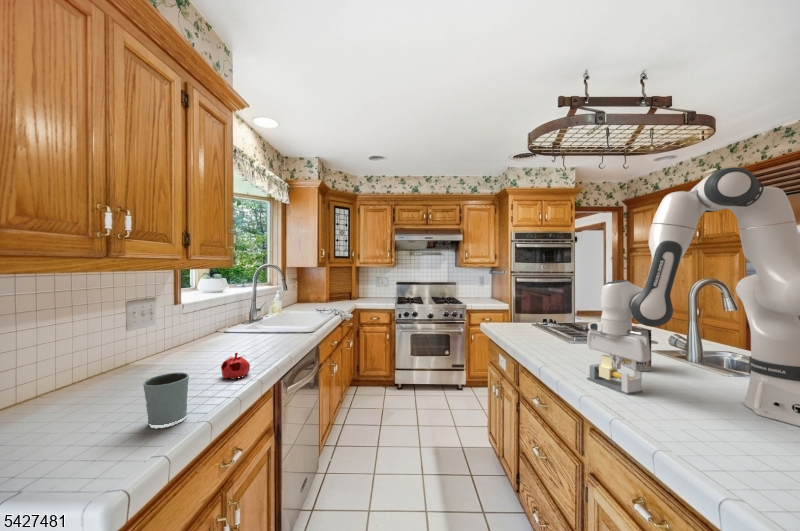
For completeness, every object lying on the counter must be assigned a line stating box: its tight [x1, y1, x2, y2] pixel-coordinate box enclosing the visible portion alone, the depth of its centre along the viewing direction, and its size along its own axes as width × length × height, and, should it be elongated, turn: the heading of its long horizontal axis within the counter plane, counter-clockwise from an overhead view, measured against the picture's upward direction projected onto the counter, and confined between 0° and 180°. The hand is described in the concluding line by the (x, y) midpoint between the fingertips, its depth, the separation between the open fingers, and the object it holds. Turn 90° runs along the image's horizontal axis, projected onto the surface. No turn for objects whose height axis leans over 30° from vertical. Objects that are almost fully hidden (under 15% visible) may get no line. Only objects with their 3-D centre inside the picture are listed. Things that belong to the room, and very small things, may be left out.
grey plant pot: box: [142, 372, 190, 425], centre depth 90 cm, size 10×10×12 cm
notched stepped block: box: [599, 354, 619, 380], centre depth 116 cm, size 4×4×7 cm
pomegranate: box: [220, 352, 251, 379], centre depth 126 cm, size 10×10×9 cm
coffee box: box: [621, 325, 652, 372], centre depth 132 cm, size 9×6×16 cm
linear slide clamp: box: [586, 363, 643, 396], centre depth 114 cm, size 15×7×7 cm, turn 18°
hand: (616, 368), depth 112 cm, fingers closed
